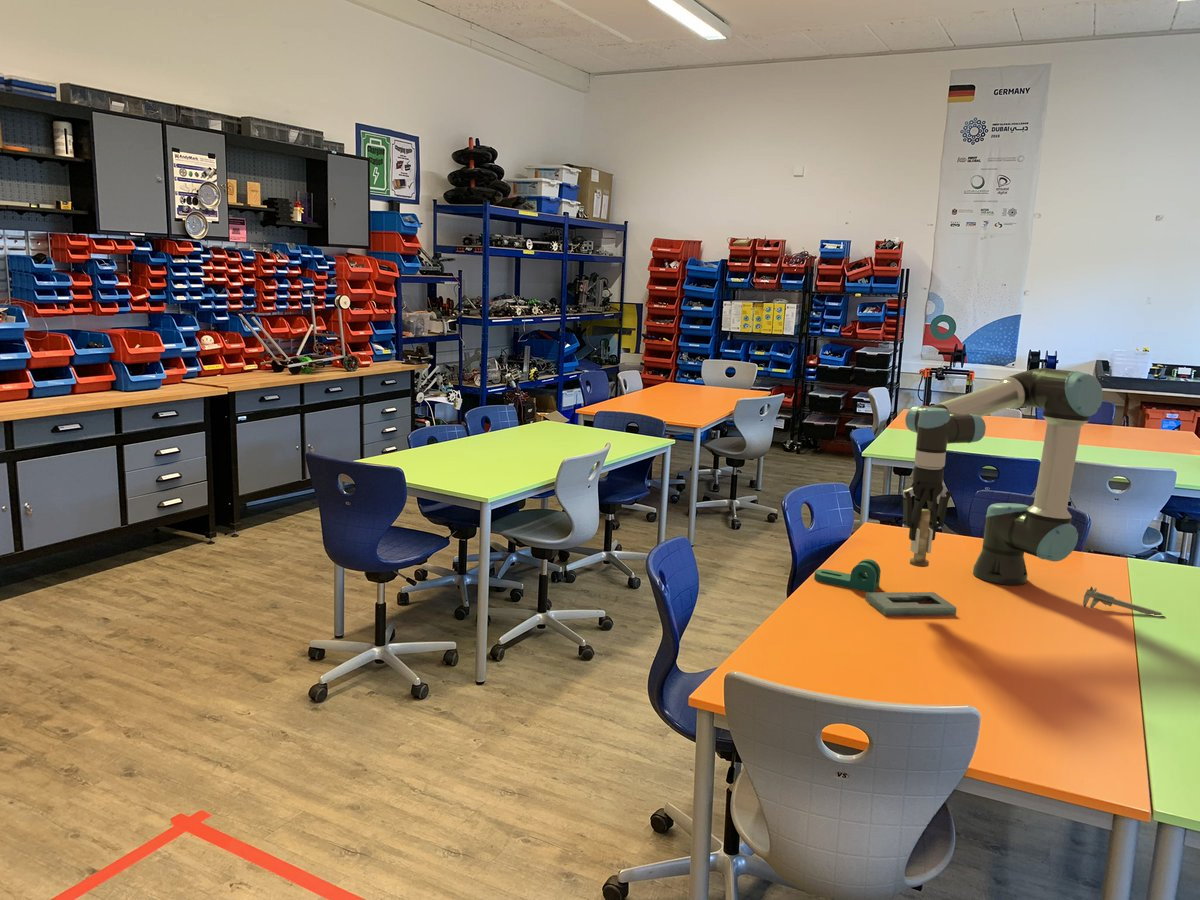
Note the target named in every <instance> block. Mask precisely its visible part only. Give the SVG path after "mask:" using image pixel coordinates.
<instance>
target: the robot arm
mask: <svg viewBox="0 0 1200 900" xmlns="http://www.w3.org/2000/svg"><path fill="white" fill-rule="evenodd" d="M1103 398H1104V396H1103V388H1102V384H1101V383H1100V382H1099V380H1098V378H1096V376H1094V375H1093V374H1090V373H1085V372H1081V371H1079V370H1078V371H1077V370H1075V371H1074V370H1066V369H1065V370H1064V369H1053V368H1047V367H1043V368H1041V367H1040V368H1034V369H1030V370H1025V371H1022V372H1018V373H1015V374H1013V375H1009V376H1005V377H1004V378H1002V379H1001V380H1000V381H999V382H998V383H996V384H993V385H991V386H988V387H985V388H982V389H977V390H975V391H971V392H969V393H966V394H963V395H960V396H958V397H955V398H952V399H949V400H946V401H943V402H939V403H937V404H933V405H931V406H924V405H923V406H922V405H921V406H918V405H915V406H913V407H911V408H909V410H908V411H907V413H906V415H905V419H904V420H905V425H906V428H907V429H908V430H909V431H911V432H913V433H916V443H915V455H914V464H915V466H913V475H912V480H913V481H912V484H911V486H910V487H909V488H908V489H901V492H900V493H901V496H902V498H903V500H902V502H903V503H902V507H903V508H902V513H903V514H902V524H903V525H904V526H906V527H907V528H909V533H908V539H909V540H910V552H912V553H913V554H914V553H918V546H919V537H920V530H919V529H917V528H918V524H919V520H920V516H921V512H922V509H924V508H923V507H924V505H925V503H927V510H930V511H931V512H930V522H929V531H928V541H927V551H926V554H931V552H932V547H933V546H932V543H933V541H935V539H936V531H938V530H939V528H940V527H941V528H942V527H944V525H945V519H946V515H947V510H948V503H949V500H950V498H951V496H952V494H953V492H952V491H951V490H948V489H945V488H944V486H943V482H944V475H945V469H944V467H945V466H946V455H947V449H948V448H947V446H948V445H949V444H966V443H967V444H970V443H977V442H979V441H981V440H982V439H983V438H984V436H985V435H986V427H987V425H986V422H985V420H984V419H983V417H985V416H988V415H991V414H994V413H997V412H999V411H1003V410H1006V409H1010V410H1017V409H1019V408H1024V407H1025V408H1026V407H1027V408H1028V407H1031V408H1039V409H1043V410H1042V411H1043V412H1042V418H1043V419H1044V421H1045V422H1046V427H1045V428H1046V429H1045V435H1044V440H1043V447H1042V452H1041V458H1040V463H1039V464H1040V465H1039V470H1038V476H1037V481H1036V482H1037V483H1036V490H1035V496H1034V501H1033V504H1032V505H1027V504H1023V503H1013V502H1012V503H1011V502H1010V503H1009V502H1007V503H1006V502H1000V503H999V502H998V503H992V504H990V505H989V506H988V507H987V511H986V515H985V521H984V528H983V529H984V530H983V531H984V532H983V539H982V540H983V541H982V547H981V548H982V549H981V551H980V553H979V555H978V557H977V559H976V560H975V561H976V562H975V563H974V565H973V568H972V574H973V575H974V577H976V578H978V579H981V580H983V581H986V582H988V583H989V582H990V583H994V584H999V585H1005V586H1006V585H1007V586H1018V585H1019V586H1020V585H1024V584H1026V583H1027V581H1028V571H1027V566H1026V561H1025V557H1024V556H1025V554H1028V555H1031V556H1034V557H1037V558H1039V559H1041V560H1046V561H1049V562H1060V561H1063V560H1065V559H1066V558H1067V557H1069V555H1071V554H1072V552H1074V550H1075V548H1076V546H1077V543H1078V541H1079V532H1078V531H1077V528H1076V527H1075V526H1074V525H1073V524H1072V523H1071V522H1072V516H1073V515H1071V513H1070V512H1069V510H1068V504H1069V499H1070V493H1071V487H1072V484H1073V483H1072V481H1073V475H1074V471H1075V470H1074V469H1075V464H1076V458H1077V453H1078V448H1079V442H1080V436H1081V435H1080V434H1081V429H1082V427H1083V426H1084V425H1086V424H1087V423H1089V420H1090V417H1091V416H1093V415H1095V414H1096V413H1097V412H1098V409H1100V408H1101V406H1102V403H1103ZM913 494H914V499H913V500H914V501H913V500H912V497H913ZM938 497H939V501H938ZM913 502H914V504H913ZM912 506H913V507H912Z"/></svg>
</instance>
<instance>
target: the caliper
mask: <svg viewBox="0 0 1200 900" xmlns="http://www.w3.org/2000/svg"><path fill="white" fill-rule="evenodd" d="M1097 589H1098V588H1097V587H1095V588H1093V586H1090V588H1089V589H1086V592H1085V594H1084V596H1083V602H1082V605H1083V607H1084V608H1086V607H1087V604H1088V603H1089V600H1090V598H1092V600H1091V602H1090V605H1089V608H1090V609H1093V608H1094V607H1095V606H1096V605H1097V604H1098V603H1099V602H1101V604H1104V605H1105V606H1106V605H1107V606H1108V607H1112V605H1115V606H1118V607H1121V608H1124V609H1127V610H1132V611H1135V612H1138V613H1142V614H1145V615H1148V614H1154V615H1163V613H1162V612H1161V611H1158V610H1155V609H1151V608H1147V607H1144V606H1140V605H1138V604H1134V603H1131V602H1127V601H1125V600H1120V599H1118V598H1115V597H1114V596H1112V595H1109V594H1107V593H1103V592H1100V591H1098V590H1097Z"/></svg>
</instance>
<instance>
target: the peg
mask: <svg viewBox="0 0 1200 900" xmlns="http://www.w3.org/2000/svg"><path fill="white" fill-rule="evenodd" d="M930 512H931V511H930V510H928V508H922V512H921V516H920V520H919V524H918V528H917V529H919V530H920V537H919V546H918V553H914V552H913V557H911V558H910V560H909V564H910V565H911V566H913V567H918V568H927V567H929V566H930V561H929V560H928V559H926V558H927V552H926V551H927V541H928V531H929V522H930Z"/></svg>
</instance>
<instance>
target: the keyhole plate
mask: <svg viewBox="0 0 1200 900" xmlns="http://www.w3.org/2000/svg"><path fill="white" fill-rule="evenodd" d="M865 601H866V602H867V603H868V602H869V603H868V604H870V605H871V607H873V606H874V607H873V608H874V609H876V610H877V612H880V613H881V614H882V615H883V616H884V617H908V616H909V617H913V616H914V617H917V616H918V617H919V616H920V617H922V616H923V617H924V616H925V617H929V616H930V617H931V616H932V617H934V616H935V617H936V616H939V617H940V616H944V617H946V616H949V617H950V616H956V615H957V607H956V606H955V605H953V604H952V602H951V603H950V602H949V601H948V600H946V599H945V598H943V597H941V595H939V594H937V593H936V592H933V591H931V592H930V591H925V592H924V591H921V592H920V591H919V592H918V591H913V592H912V591H911V592H910V591H909V592H908V591H905V592H903V591H902V592H900V591H899V592H895V591H894V592H891V591H890V592H876V591H875V592H866V593H865ZM919 602H920V603H919ZM922 602H923V603H922ZM924 602H925V603H926V604H925V603H924ZM921 603H922V604H921Z"/></svg>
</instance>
